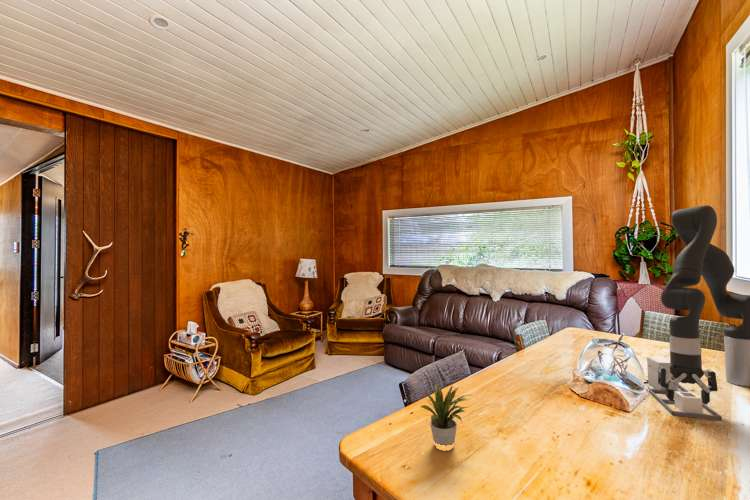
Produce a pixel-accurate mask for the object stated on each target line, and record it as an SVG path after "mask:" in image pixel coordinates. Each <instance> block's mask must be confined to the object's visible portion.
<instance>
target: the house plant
mask: <svg viewBox="0 0 750 500" xmlns="http://www.w3.org/2000/svg"><path fill="white" fill-rule="evenodd" d="M453 386H454V385H453V384H452V385H451V387H449V390H448V392H447V393H446V394H445V397H444V395H443V391H442V388H441V385H440V384H438V385H437V384H436V383H434V393H433V395H434V396H435V397H434V398H435V399H434V398H433V396H431V394H429V392H427V391H425V390H423V392H424V393H425V394H426V396H427V398H428V399H429V400H428V399H427V398H425V400H426V401H427V402H428V403H429V404H430V405H431V407H432V408H431V407H430V406H428V405H426V404H423V405H421V406H420V407H419V408H422V409H425V410H427V411H429V412H430V413H432V414H430V421H429V422H430V423H429V424H430V430H431V434H432V439H433V442H434V441H435V443H437V444H440V445H445V446H447V445H452V444H453V443H454V442H456V434H457V427H458V426H457V425H458V424H457V422H456V420H455V419H454V418H456V419H459V420H460V421H461V423H462V418H461V416H460V415H459V414H461V413H466V411H465V408H468V406H460V405H457V404H458V403H460V402H464V401H465V400H467V398H465V397H469V396H470V394H465V395H464V394H463V395H462V396H458V397H457V398H456V399H454V398H455V397H456V393H457V391H458V390H459V388H460V387H455V388H454V390H453ZM470 400H471V399H470V398H469V399H468V401H470ZM455 409H456V410H455ZM454 444H455V443H454Z"/></svg>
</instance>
